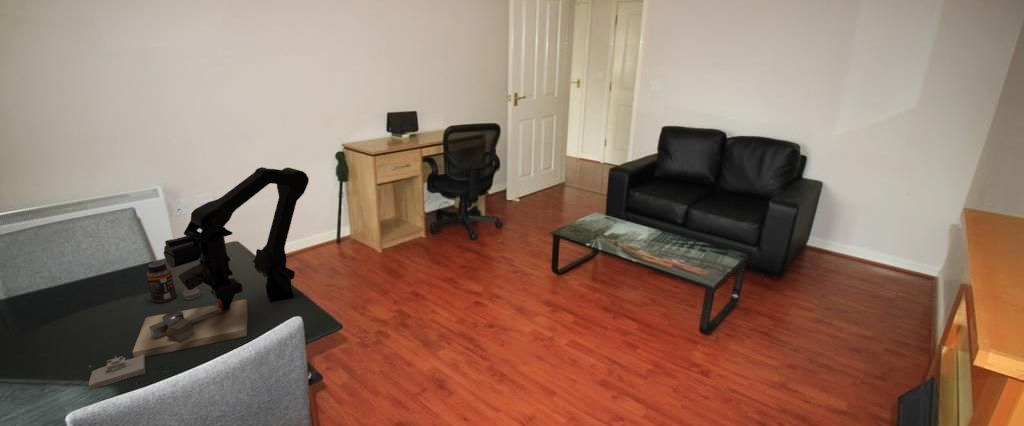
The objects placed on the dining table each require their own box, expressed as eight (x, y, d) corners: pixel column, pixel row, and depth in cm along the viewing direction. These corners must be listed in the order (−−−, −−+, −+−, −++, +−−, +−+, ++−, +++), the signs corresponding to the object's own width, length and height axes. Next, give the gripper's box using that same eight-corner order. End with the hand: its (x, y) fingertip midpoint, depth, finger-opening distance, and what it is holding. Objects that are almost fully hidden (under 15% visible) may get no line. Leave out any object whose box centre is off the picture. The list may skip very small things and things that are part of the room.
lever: (156, 339, 121) (150, 315, 119) (149, 333, 124) (143, 309, 121) (233, 309, 135) (229, 286, 133) (226, 304, 138) (222, 282, 135)
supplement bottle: (175, 301, 144) (167, 266, 140) (151, 305, 141) (141, 269, 137) (178, 292, 149) (170, 258, 145) (154, 296, 146) (145, 261, 142)
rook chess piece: (192, 301, 144) (186, 277, 141) (179, 299, 144) (173, 275, 142) (204, 294, 148) (199, 270, 145) (191, 292, 149) (186, 268, 146)
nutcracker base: (247, 305, 142) (244, 286, 140) (246, 336, 128) (242, 316, 126) (147, 323, 132) (142, 304, 130) (134, 359, 118) (127, 338, 116)
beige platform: (142, 351, 122) (139, 338, 120) (158, 370, 115) (154, 356, 114) (80, 374, 113) (76, 361, 112) (93, 396, 106) (88, 382, 105)
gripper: (169, 250, 130) (180, 302, 135) (188, 276, 117) (199, 331, 123) (216, 240, 137) (225, 289, 142) (238, 262, 125) (247, 316, 130)
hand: (223, 305), depth 134 cm, fingers open, 5 cm apart
